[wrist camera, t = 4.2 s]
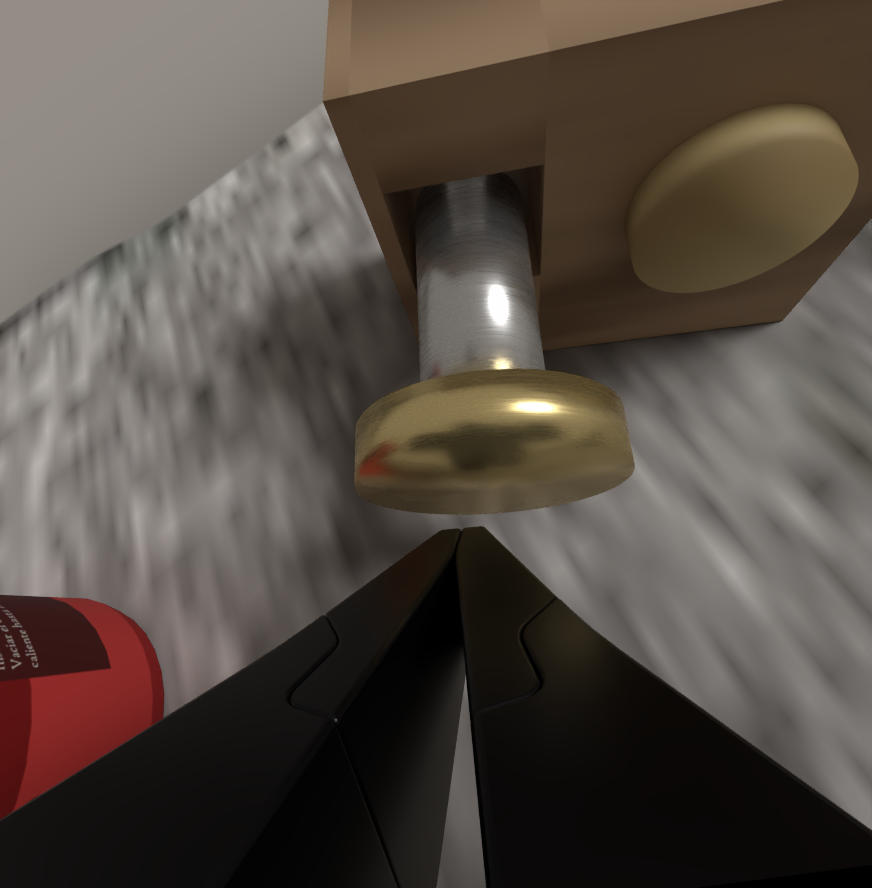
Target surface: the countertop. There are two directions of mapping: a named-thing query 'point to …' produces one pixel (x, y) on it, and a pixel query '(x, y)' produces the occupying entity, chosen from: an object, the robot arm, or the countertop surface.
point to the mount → (619, 145)
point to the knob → (485, 378)
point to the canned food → (68, 690)
